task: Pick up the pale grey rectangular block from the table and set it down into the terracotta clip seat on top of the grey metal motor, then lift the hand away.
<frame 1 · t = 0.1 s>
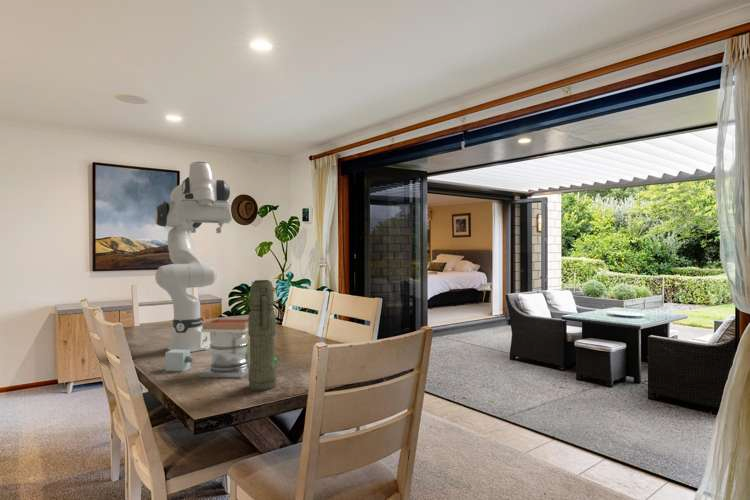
hand: (206, 232, 171), 52 cm above the table, tool tilted 20°, fingers open, 8 cm apart
mechanical part: (266, 362, 180), on the table
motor: (229, 371, 166), on the table
thermos: (262, 387, 147), on the table
pale grey rectangular block: (178, 369, 169), on the table
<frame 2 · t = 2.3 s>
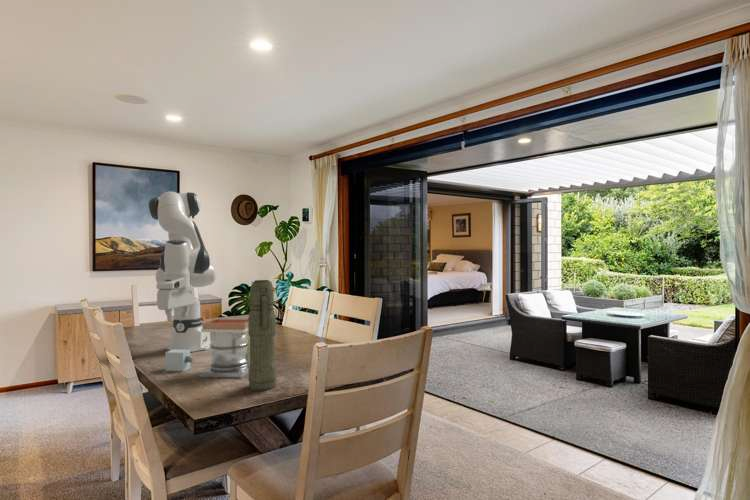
hand: (177, 319, 169), 19 cm above the table, tool pointing down, fingers open, 8 cm apart
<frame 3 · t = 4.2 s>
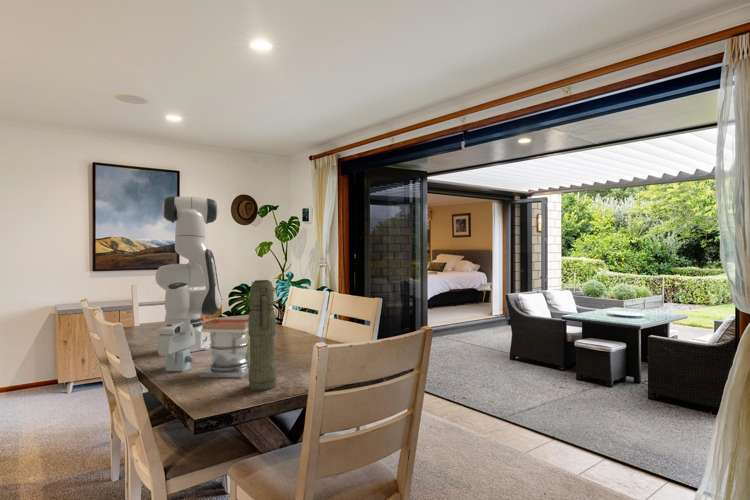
hand: (178, 362, 169), 3 cm above the table, tool pointing down, fingers closed on pale grey rectangular block, 5 cm apart
pale grey rectangular block: (178, 369, 169), on the table, touching gripper
everything else where it was.
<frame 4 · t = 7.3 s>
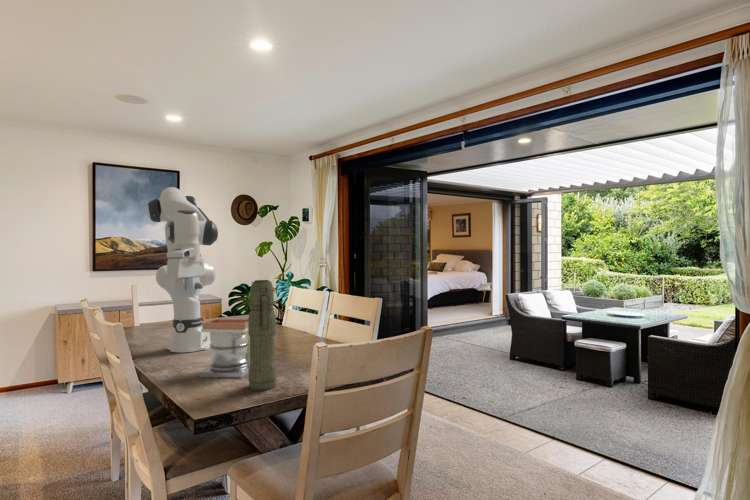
hand: (187, 289, 168), 30 cm above the table, tool pointing down, fingers closed on pale grey rectangular block, 5 cm apart
pale grey rectangular block: (187, 296, 168), point 28 cm above the table, touching gripper
everything else where it was.
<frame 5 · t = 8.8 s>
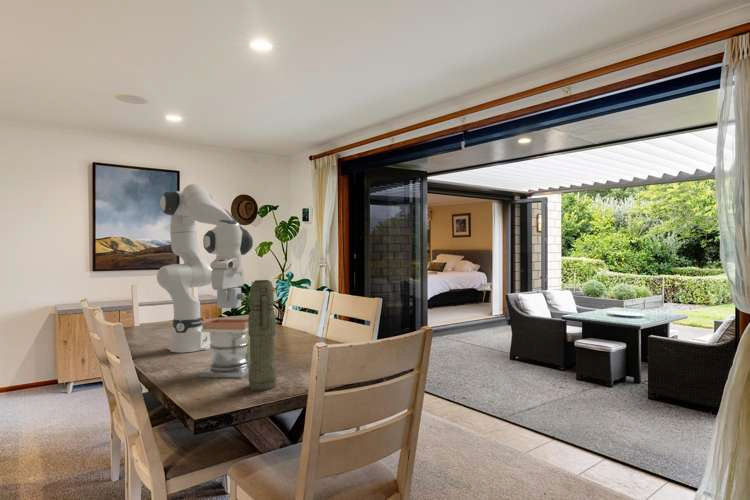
hand: (229, 300, 166), 26 cm above the table, tool pointing down, fingers closed on pale grey rectangular block, 5 cm apart
pale grey rectangular block: (229, 307, 166), point 24 cm above the table, touching gripper
everything else where it was.
when the fingers open (20 cm above the table, at t = 10.3 s): pale grey rectangular block stays where it is, resting on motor.
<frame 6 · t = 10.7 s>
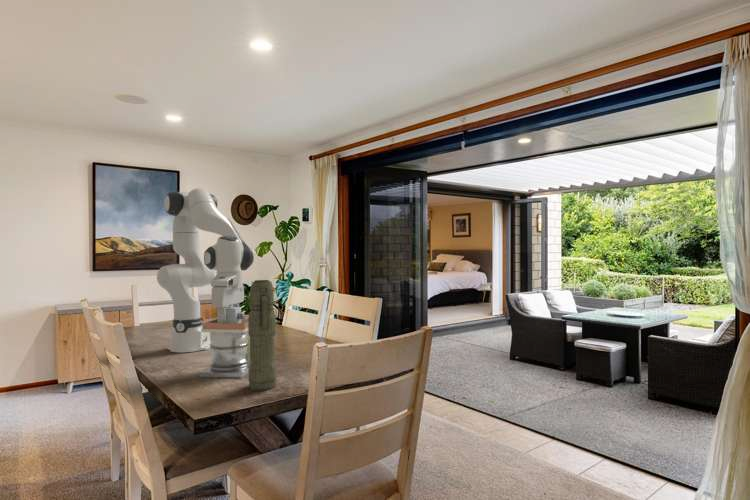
hand: (229, 316, 166), 20 cm above the table, tool pointing down, fingers open, 8 cm apart
pale grey rectangular block: (229, 326, 166), point 17 cm above the table, touching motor
everything else where it was.
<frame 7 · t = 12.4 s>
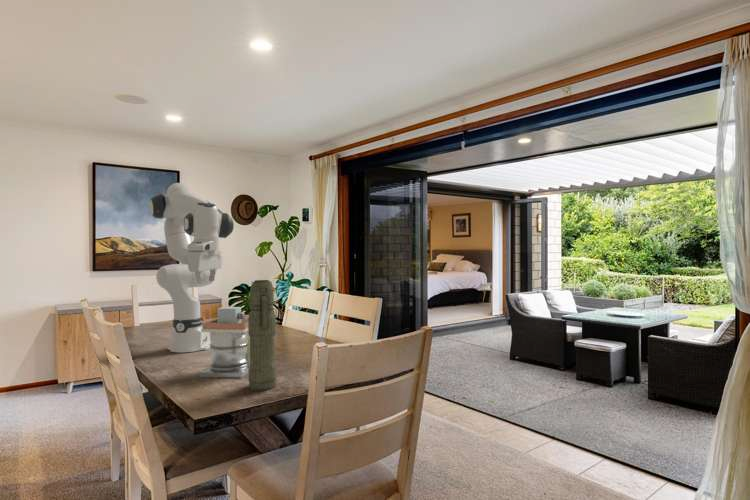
hand: (206, 282, 169), 33 cm above the table, tool pointing down, fingers open, 8 cm apart
mechanical part: (265, 362, 180), on the table, touching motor
everything else where it was.
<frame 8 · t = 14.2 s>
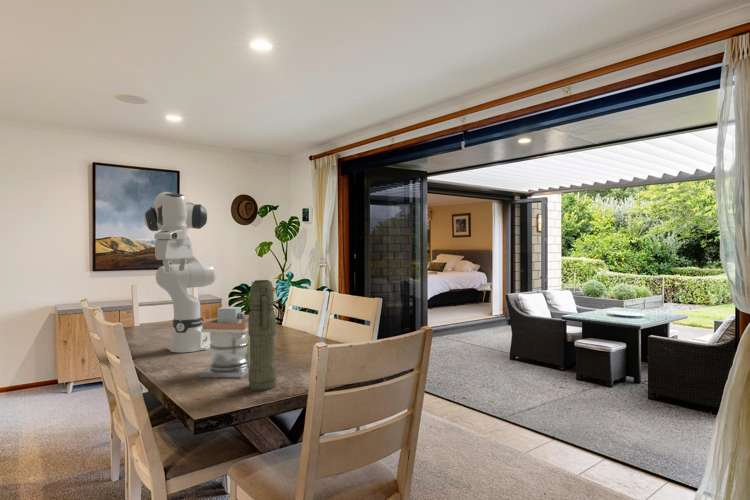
hand: (175, 271, 171), 37 cm above the table, tool pointing down, fingers open, 8 cm apart
mechanical part: (265, 362, 180), on the table
everything else where it was.
at the end: pale grey rectangular block 0.0 cm off-centre on the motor, point 16.6 cm above the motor's base; the gripper is holding nothing; pale grey rectangular block tilted 0° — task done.
